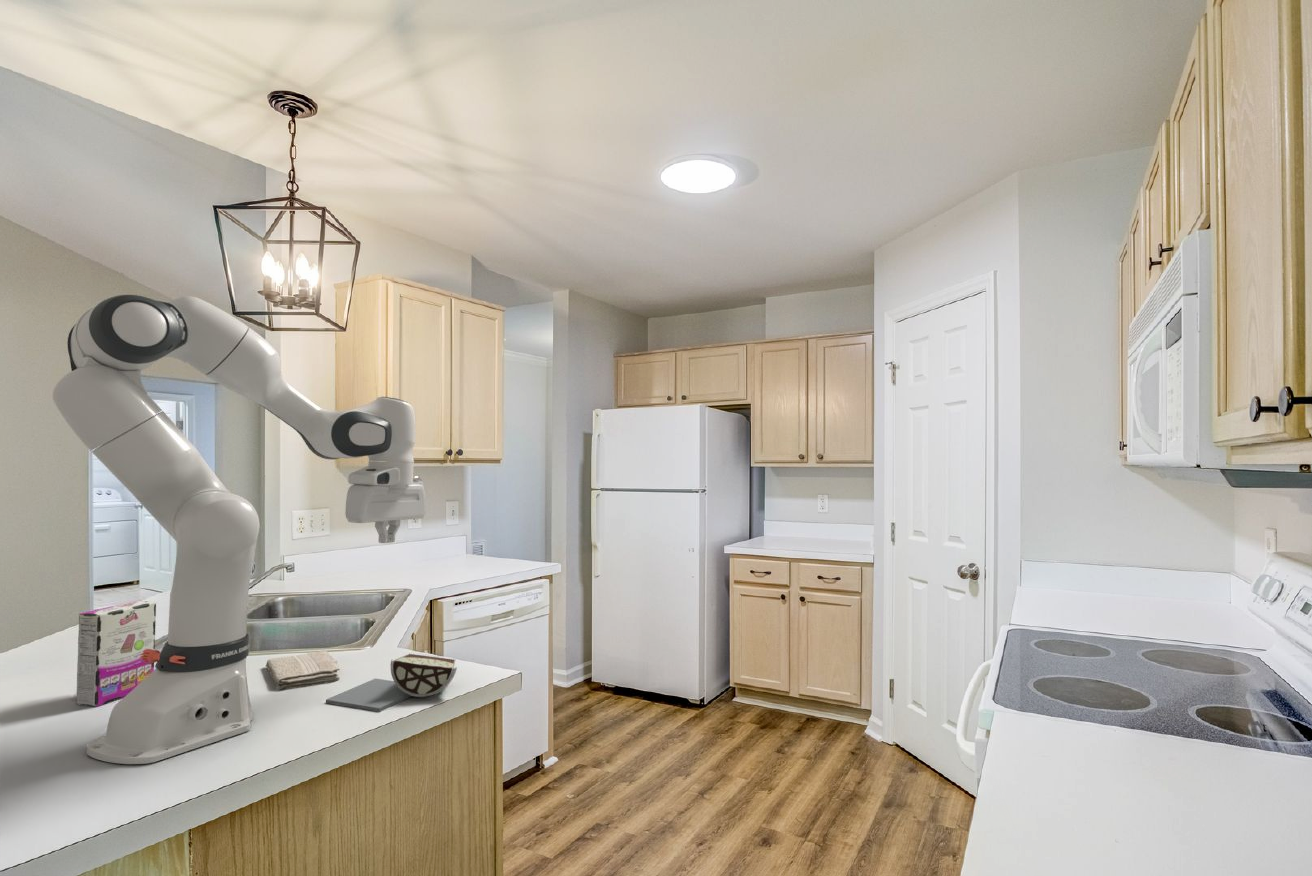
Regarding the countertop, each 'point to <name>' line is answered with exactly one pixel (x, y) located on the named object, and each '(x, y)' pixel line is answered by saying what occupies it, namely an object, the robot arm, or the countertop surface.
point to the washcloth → (303, 670)
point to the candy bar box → (114, 651)
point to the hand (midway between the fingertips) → (386, 542)
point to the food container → (422, 674)
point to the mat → (370, 695)
